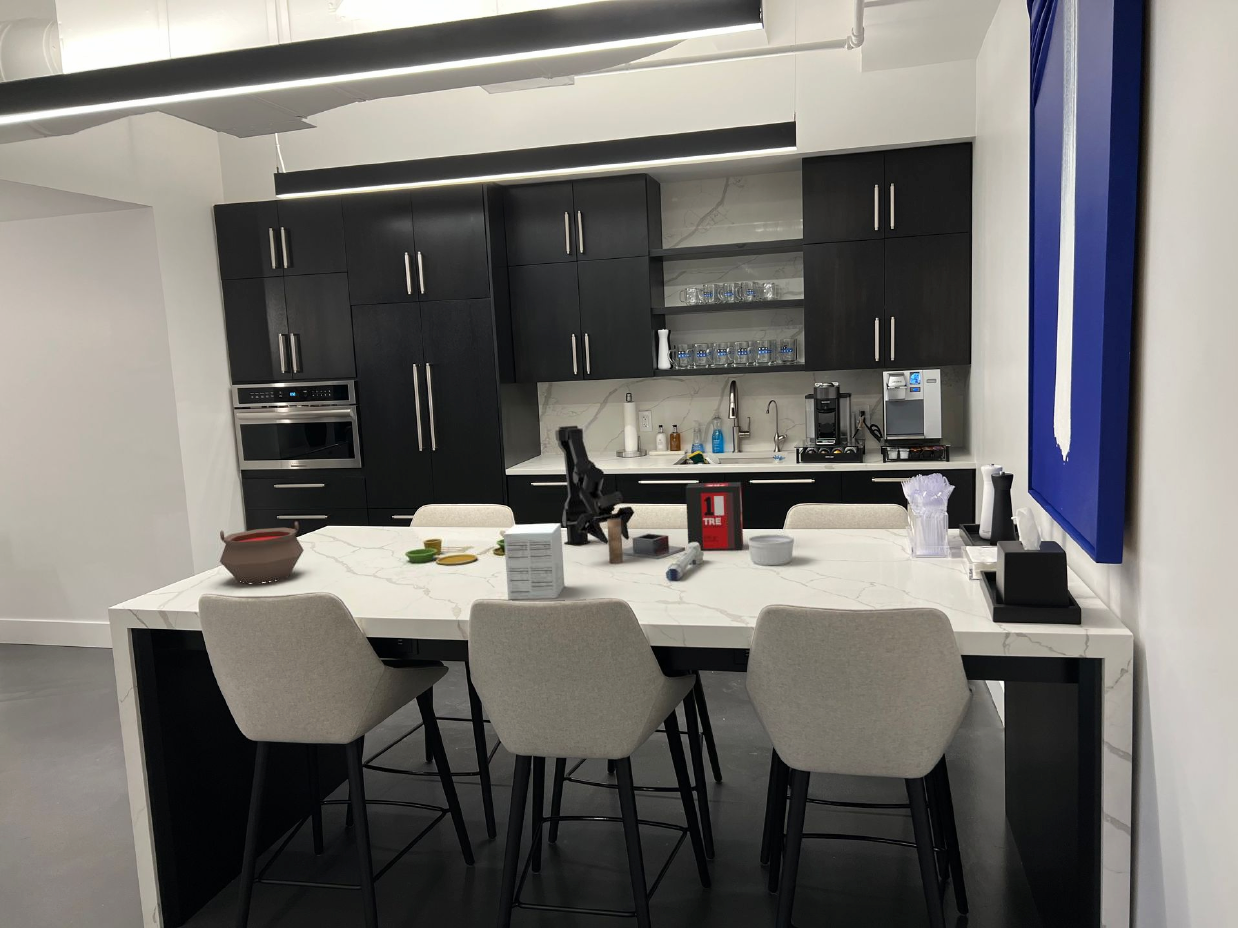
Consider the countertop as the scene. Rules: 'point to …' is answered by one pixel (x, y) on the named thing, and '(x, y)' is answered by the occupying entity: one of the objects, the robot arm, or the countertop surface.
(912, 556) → the countertop surface
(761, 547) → the ramekin
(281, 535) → the brown cooking pot
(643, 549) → the grey square socket base
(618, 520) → the rail post
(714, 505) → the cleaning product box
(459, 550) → the tableware set
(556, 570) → the supplement box
